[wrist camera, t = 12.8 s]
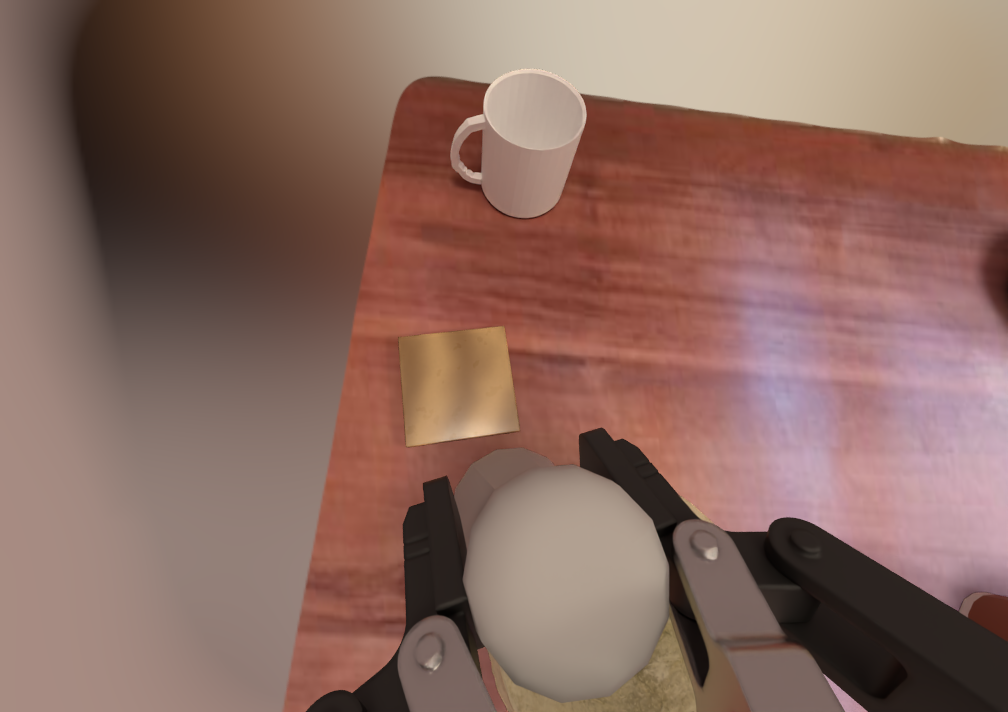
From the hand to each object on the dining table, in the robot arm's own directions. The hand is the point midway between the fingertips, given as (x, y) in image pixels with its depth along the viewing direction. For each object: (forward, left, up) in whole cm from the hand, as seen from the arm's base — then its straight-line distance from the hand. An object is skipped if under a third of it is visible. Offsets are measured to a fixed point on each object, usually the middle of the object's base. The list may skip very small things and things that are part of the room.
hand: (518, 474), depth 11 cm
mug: (+6, +29, -22) cm, 37 cm away
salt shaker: (0, -2, -9) cm, 9 cm away
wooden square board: (-2, +7, -22) cm, 23 cm away
